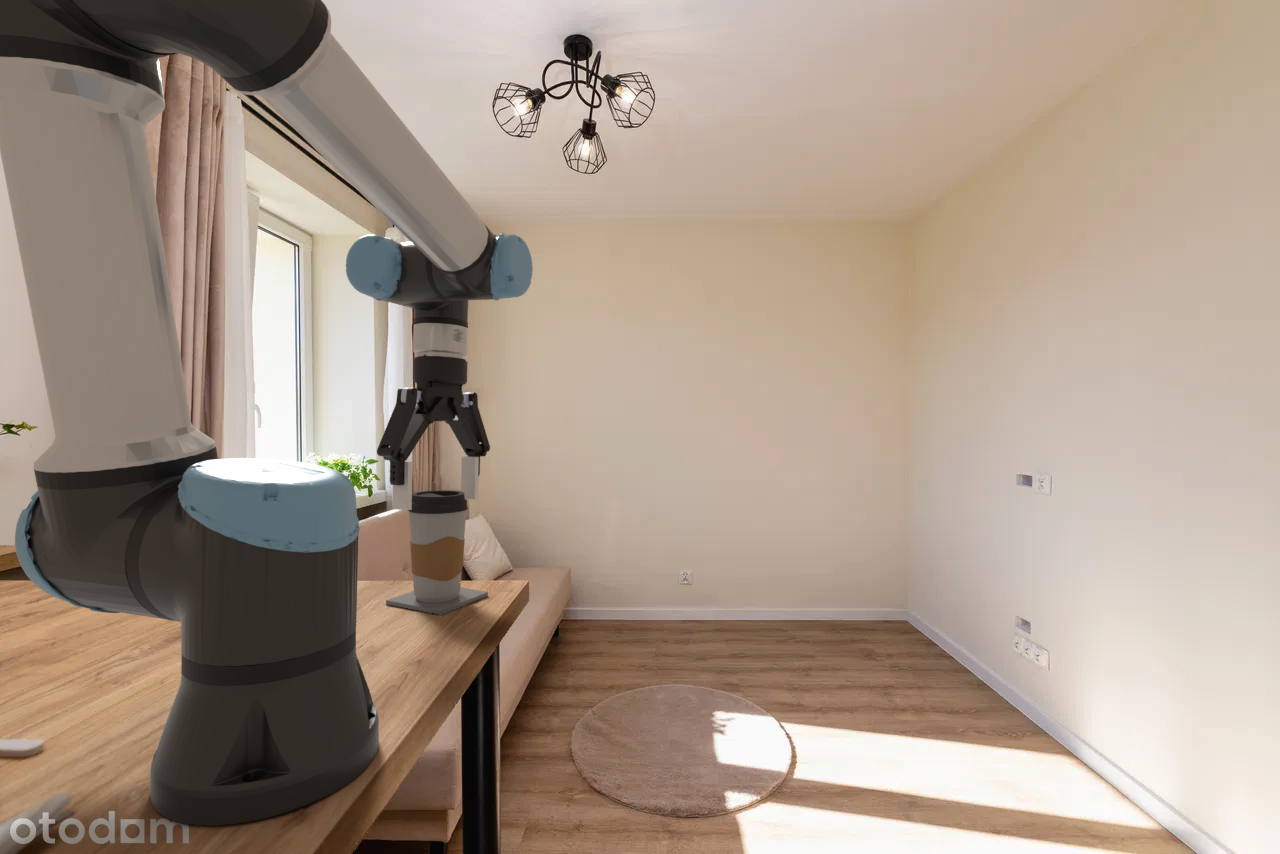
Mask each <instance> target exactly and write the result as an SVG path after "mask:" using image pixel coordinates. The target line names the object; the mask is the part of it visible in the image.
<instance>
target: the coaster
mask: <svg viewBox="0 0 1280 854" xmlns="http://www.w3.org/2000/svg"><path fill="white" fill-rule="evenodd" d="M488 596H489V592H488V591H484V590H480V589H479V590H478V589H473V588H468V587H467V588H466V587H460V592H459V593H458V596H457V597H456V598H455V599H452V600H449V601H444V602H435V603H428V602H421V601H419V600H417V599H416V596H415V595H414V590H412V591H410V592H406V593H404V594H400V595H397V596H395V597H392V598H389V599H386V600H385V605H386V604H387V606H391V605H393V606H392V607H396V606H398V607H397V608H401V607H403V608H402V609H406V608H408V609H407V610H412V609H413V610H412V611H417V610H418V612H422V611H423V612H422V613H427V612H428V614H432V613H434V614H433V615H437V614H439V615H438V616H441V614H442V615H445V614H447V613H449V612H448V611H450V612H451V610H452V611H454V610H456V608H457V609H459V608H461V606H462V607H464V606H467V605H469V604H472V603H473V601H474V602H476V600H477V601H479V600H481V599H484V598H487V597H488ZM471 602H472V603H471ZM468 603H469V604H468ZM466 604H467V605H466ZM458 607H459V608H458ZM446 612H447V613H446ZM444 613H445V614H444Z"/></svg>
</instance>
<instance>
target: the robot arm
mask: <svg viewBox="0 0 1280 854" xmlns="http://www.w3.org/2000/svg"><path fill="white" fill-rule="evenodd" d="M331 30H332V16H331V13H330V10H329V9H328V7H327V6H326V4H325V3H324V2H323V1H322V0H0V157H1V163H2V167H3V168H2V169H3V173H4V179H5V184H6V189H7V193H8V194H7V195H8V200H9V205H10V208H11V214H12V219H13V224H14V230H15V235H16V240H17V244H18V251H19V256H20V262H21V265H22V270H23V276H24V277H23V278H24V281H25V287H26V292H27V296H28V301H29V307H30V313H31V316H32V322H33V326H34V327H33V329H34V333H35V337H36V343H37V349H38V354H39V359H40V364H41V369H42V373H43V374H42V375H43V379H44V384H45V388H46V394H47V399H48V400H47V401H48V404H49V409H50V416H51V420H52V421H51V422H52V425H53V430H54V435H55V436H54V440H53V442H52V443H51V445H50V446H48V448H46V450H45V451H43V453H42V454H41V455H40V456H39V457H38V458H37V459H35V461H34V462H33V470H34V477H35V481H36V487H37V491H35V493H34V494H32V495H31V497H30V500H31V501H30V502H29V504H28V506H27V507H26V508H24V509H22V510H21V513H20V514H19V517H18V520H17V522H16V526H15V531H14V532H15V533H14V548H15V553H16V556H17V559H18V562H19V565H20V566H21V568H22V571H24V574H25V575H26V576H27V578H28V579H29V580H30V581H31V582H32V583H33V584H34V585H36V587H37V588H39V590H41V591H42V592H45V593H46V594H47V595H50V596H51V597H53V598H55V599H58V600H60V601H63V602H66V603H69V604H71V605H73V606H75V607H79V608H85V609H89V610H90V611H92V612H99V613H108V614H120V613H123V614H129V615H134V616H142V617H148V618H152V619H153V618H154V619H161V620H166V621H172V622H178V623H179V622H180V626H181V627H180V634H181V635H180V637H181V638H180V639H181V640H180V645H181V647H180V648H181V649H180V652H181V666H180V667H181V671H180V674H181V675H180V677H181V679H180V684H179V687H178V690H177V693H176V696H175V698H174V701H173V702H172V706H171V708H170V712H169V714H168V718H167V720H166V722H165V726H164V728H163V730H162V732H161V733H162V734H161V737H160V739H159V743H158V746H157V749H156V750H155V753H154V754H153V758H152V761H151V766H150V782H149V783H150V784H149V785H150V794H149V795H150V802H151V805H152V806H153V808H154V810H155V811H156V812H157V813H159V815H161V816H163V817H164V818H166V819H168V820H171V821H174V822H178V823H182V824H185V825H186V824H187V825H196V826H224V825H233V824H234V825H235V824H241V823H247V822H253V821H258V820H264V819H267V818H271V817H274V816H275V817H276V816H278V815H282V814H285V813H288V812H291V811H294V810H297V809H300V808H302V807H305V806H307V805H310V804H312V803H315V802H317V801H319V800H321V799H323V798H325V797H327V796H328V795H331V794H332V793H334V792H336V791H338V790H339V789H341V788H342V787H344V786H346V785H348V784H349V783H350V782H352V781H353V780H355V778H357V777H358V776H360V775H361V773H362V772H364V770H365V769H367V768H368V766H369V765H370V764H371V763H372V761H373V760H374V758H375V757H376V755H377V752H378V749H379V741H380V740H379V739H380V738H379V735H380V733H379V732H380V731H379V729H380V728H379V727H380V726H379V725H380V721H379V714H378V710H377V707H376V705H375V704H374V701H373V697H372V695H371V692H370V689H369V686H368V685H369V684H368V682H367V680H366V677H365V675H364V672H363V668H362V666H361V663H360V660H359V658H358V655H357V654H358V653H357V609H358V608H357V606H358V605H357V604H358V564H359V563H358V562H359V534H360V520H359V517H358V513H357V498H356V497H357V495H356V490H355V487H354V484H353V482H352V481H351V479H350V478H349V477H348V476H346V475H345V474H344V473H342V472H341V471H339V470H336V469H334V468H331V467H328V466H325V465H321V464H315V463H311V462H310V463H309V462H304V461H297V460H287V459H282V460H280V459H279V460H278V459H272V458H260V457H259V458H258V457H255V458H253V457H232V458H229V457H228V458H219V457H218V451H217V443H216V441H215V440H214V439H213V438H211V437H210V436H209V435H207V434H205V433H203V432H202V431H201V430H199V429H198V428H196V427H195V426H194V425H193V423H192V420H191V414H190V407H189V401H188V395H187V394H188V393H187V387H186V381H185V375H184V368H183V364H182V362H183V361H182V357H181V356H182V355H181V350H180V344H179V337H178V331H177V324H176V318H175V312H174V306H173V305H174V304H173V300H172V292H171V285H170V279H169V274H168V268H167V262H166V260H167V259H166V255H165V248H164V242H163V236H162V230H161V222H160V216H159V211H158V209H159V208H158V205H157V198H156V191H155V184H154V177H153V171H152V166H151V160H150V159H151V158H150V154H149V153H150V152H149V146H148V140H147V134H146V129H147V126H148V124H149V123H150V122H152V121H153V120H154V119H155V118H156V117H158V116H159V115H160V114H161V113H163V112H164V111H165V109H166V102H165V95H164V89H163V82H162V81H163V80H162V73H161V69H160V61H159V60H160V58H164V57H167V56H172V55H178V54H180V55H183V56H186V57H190V58H192V59H194V60H197V61H199V62H200V63H202V64H204V65H205V66H207V67H209V68H211V70H213V71H215V73H217V74H218V75H219V76H220V77H221V78H222V79H223V80H224V81H226V83H228V85H230V87H232V88H233V89H234V90H235V91H236V92H238V93H240V94H243V95H246V96H247V95H248V96H259V97H261V98H262V99H263V100H264V101H265V102H266V103H267V104H268V105H269V106H270V107H271V108H272V109H273V111H275V112H276V113H277V114H279V115H280V116H281V118H283V120H284V121H286V122H287V123H288V124H289V126H291V127H292V128H293V130H295V131H296V132H297V133H298V134H299V135H300V136H301V137H303V139H304V140H305V141H306V142H307V143H308V144H309V145H310V146H312V147H313V148H314V149H315V150H316V152H318V153H319V154H320V155H321V156H322V157H323V158H324V159H325V160H326V161H327V162H328V163H329V164H330V165H331V166H332V167H333V168H334V169H335V170H336V171H337V172H338V173H340V175H342V177H344V178H345V179H346V180H347V181H348V182H349V183H350V184H351V185H352V186H353V187H354V188H355V189H356V190H357V191H358V192H359V193H360V194H361V196H363V197H364V198H365V199H366V200H367V201H368V202H370V204H371V205H372V206H373V207H374V208H376V209H377V210H378V212H380V214H382V215H383V217H385V218H386V219H387V220H388V221H389V222H390V223H391V224H392V225H393V226H394V227H395V228H396V229H398V230H399V232H400V233H401V234H402V235H403V236H405V237H406V238H407V240H408V241H406V242H400V241H395V240H394V239H393V238H390V237H389V236H382V235H378V234H373V233H372V234H371V233H370V234H366V235H362V236H361V237H359V238H358V239H356V240H355V242H354V243H353V244H352V245H351V246H350V247H349V249H348V252H347V255H346V259H345V273H346V277H347V280H348V281H349V283H350V285H351V286H352V288H354V290H355V291H358V292H359V293H360V294H363V295H365V296H366V297H367V296H368V297H370V298H373V300H376V301H378V302H382V301H383V302H388V303H391V304H396V305H399V306H403V307H407V308H410V309H413V333H412V334H413V335H412V336H413V341H412V344H413V345H412V352H413V353H414V354H417V355H416V356H415V357H413V359H412V381H413V382H414V384H416V387H399V388H398V389H397V391H396V403H395V406H394V408H393V410H392V412H391V415H390V417H389V420H388V423H387V424H386V427H385V430H384V433H383V435H382V437H381V439H380V441H379V444H378V447H377V449H376V454H377V456H378V457H383V459H384V460H385V461H389V483H390V485H391V486H392V501H391V502H392V504H391V505H392V508H391V509H393V510H400V511H401V510H402V511H408V510H412V494H413V461H411V460H408V459H409V457H410V455H411V454H412V452H413V450H414V449H415V447H416V446H417V445H418V443H419V441H420V439H421V438H422V437H423V435H424V433H425V432H426V430H427V429H428V427H429V425H431V424H433V423H434V422H445V424H447V425H449V427H450V429H451V430H452V433H453V434H454V436H455V438H456V439H457V442H458V443H459V445H460V446H461V448H462V450H463V452H464V453H465V455H464V456H463V455H462V456H461V461H460V462H461V467H460V469H461V473H460V474H461V475H460V476H461V477H460V492H464V497H465V499H466V500H474V501H475V500H479V498H478V497H479V477H480V474H481V469H480V467H481V457H486V455H487V452H490V450H491V445H490V441H489V439H488V435H487V432H486V429H485V424H484V423H483V419H482V416H481V413H480V409H479V404H478V403H479V400H478V397H479V396H478V393H477V392H474V391H473V392H471V391H469V392H467V391H465V392H463V387H464V385H466V384H467V382H468V364H469V363H468V361H467V360H466V359H465V358H464V357H465V356H467V355H468V331H469V330H468V329H469V321H468V319H469V301H483V300H484V301H485V300H486V301H487V300H490V301H492V300H493V301H499V300H502V299H512V298H519V297H522V296H524V295H525V294H526V292H528V290H529V288H530V286H531V283H532V278H533V272H534V271H533V269H534V268H533V260H532V259H533V258H532V255H531V252H530V248H529V247H528V244H527V243H526V242H525V240H524V239H523V238H522V237H521V236H518V235H515V234H505V233H504V232H500V233H499V234H494V233H493V232H492V231H491V230H490V229H489V227H488V226H487V225H486V224H485V222H484V221H483V219H481V217H480V216H479V215H478V214H477V213H476V212H475V210H474V209H473V207H471V205H470V204H469V202H468V201H467V200H466V199H465V197H464V196H463V195H462V194H461V192H459V190H458V189H457V187H456V186H455V185H454V184H453V182H451V180H450V179H449V178H448V177H447V175H446V174H445V172H443V170H442V169H441V168H440V167H439V165H438V164H437V163H436V162H435V160H434V159H433V157H431V155H430V154H429V153H428V152H427V150H426V149H425V148H424V147H423V146H422V144H421V143H420V142H419V141H418V139H417V138H416V136H414V134H413V133H412V132H411V130H410V129H409V128H408V127H407V125H406V124H405V123H404V122H403V121H402V120H401V118H400V117H399V116H398V114H397V113H396V111H394V110H393V108H392V107H391V106H390V104H389V103H388V102H387V100H386V99H384V97H383V96H382V95H381V93H380V92H379V91H378V89H377V88H376V87H375V86H374V85H373V83H372V82H371V81H370V80H369V78H367V76H366V75H365V74H364V73H363V71H362V70H361V69H360V67H359V65H357V63H356V62H355V61H354V60H353V58H352V57H351V56H350V55H349V53H348V52H347V51H346V50H345V49H344V48H343V46H342V45H341V43H340V42H339V41H338V40H337V39H336V38H335V36H334V35H333V34H332V33H331Z"/></svg>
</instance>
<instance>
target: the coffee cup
mask: <svg viewBox="0 0 1280 854" xmlns="http://www.w3.org/2000/svg"><path fill="white" fill-rule="evenodd" d="M468 507H469V506H468V499H465V497H464V492H461V490H447V489H445V490H442V489H441V490H427V491H426V490H425V491H417V492H412V510H407V512H408V515H409V532H410V562H411V573H412V581H413V582H412V583H413V591H414V595H415V596H416V599H417V600H419V601H421V602H428V603H435V602H444V601H449V600H452V599H455V598H456V597H457V596H458V593H459V592H460V587H461V585H462V584H461V583H462V575H463V574H462V573H463V564H464V554H465V553H464V552H465V542H466V541H465V540H466V539H465V538H466V537H465V532H466V519H467V518H466V517H467V510H468V509H469V508H468ZM459 582H461V583H459Z"/></svg>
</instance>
